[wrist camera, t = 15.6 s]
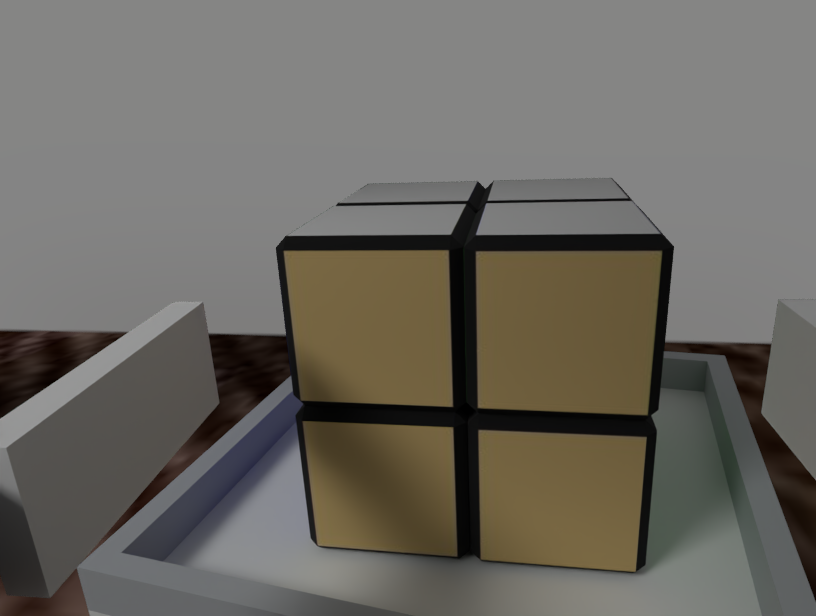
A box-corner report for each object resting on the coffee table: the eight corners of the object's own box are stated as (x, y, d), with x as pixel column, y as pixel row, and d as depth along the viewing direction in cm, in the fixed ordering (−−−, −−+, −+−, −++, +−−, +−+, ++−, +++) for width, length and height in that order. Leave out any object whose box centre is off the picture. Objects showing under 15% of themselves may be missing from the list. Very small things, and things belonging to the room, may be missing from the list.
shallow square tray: (95, 637, 18) (76, 567, 17) (347, 370, 35) (344, 327, 34) (845, 839, 13) (870, 749, 12) (718, 405, 29) (724, 355, 28)
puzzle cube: (377, 402, 29) (362, 182, 26) (605, 411, 27) (619, 176, 24) (307, 554, 20) (269, 238, 16) (646, 583, 18) (680, 235, 15)
